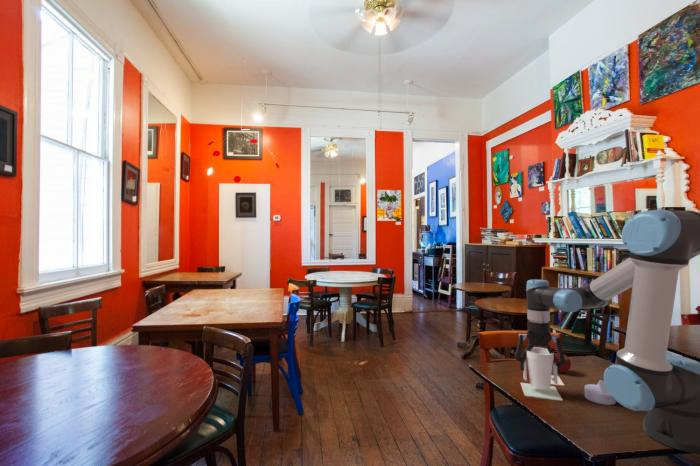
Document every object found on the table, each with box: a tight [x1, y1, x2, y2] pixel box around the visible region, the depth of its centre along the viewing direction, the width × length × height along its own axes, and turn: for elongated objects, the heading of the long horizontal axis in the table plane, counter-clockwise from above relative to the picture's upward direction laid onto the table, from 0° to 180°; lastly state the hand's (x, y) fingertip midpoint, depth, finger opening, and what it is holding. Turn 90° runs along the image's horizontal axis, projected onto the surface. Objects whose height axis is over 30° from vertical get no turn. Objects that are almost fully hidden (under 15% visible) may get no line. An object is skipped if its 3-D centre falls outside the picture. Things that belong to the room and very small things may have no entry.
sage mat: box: [520, 382, 564, 402], centre depth 128 cm, size 12×12×1 cm
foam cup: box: [524, 346, 555, 389], centre depth 128 cm, size 10×9×13 cm
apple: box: [552, 352, 572, 374], centre depth 147 cm, size 8×8×8 cm
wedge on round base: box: [584, 379, 617, 406], centre depth 121 cm, size 9×7×13 cm
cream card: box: [550, 374, 565, 387], centre depth 139 cm, size 10×10×1 cm
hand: (540, 380), depth 128 cm, fingers closed on foam cup, 9 cm apart
